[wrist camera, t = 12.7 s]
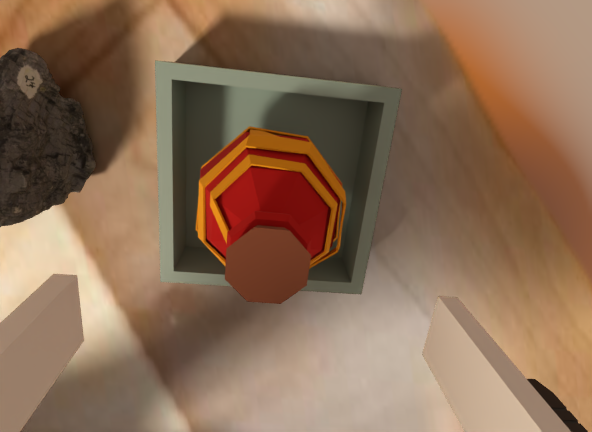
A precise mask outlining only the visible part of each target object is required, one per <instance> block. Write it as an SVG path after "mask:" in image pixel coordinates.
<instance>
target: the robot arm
mask: <svg viewBox="0 0 592 432" xmlns="http://www.w3.org/2000/svg"><path fill="white" fill-rule="evenodd" d="M83 341H84V336H83V327H82V318H81V308H80V299H79V290H78V280H77V275H63V274H53V275H52V276H51V277H50V278H49V279H48V280H47V281H45V282H44V283H43V284H42V285H41V286H40V287H39V288H38V289H37V290H36V291H35V292H34V293H32V294H31V295H30V296H29V297H28V298H27V299H26V300H25V301H24V302H23V303H22V304H20V305H19V306H18V307H17V308H16V309H15V310H14V311H13V312H12V313H11V314H10V315H9V316H7V317H6V318H5V319H4V320H3V321H2V322H1V323H0V432H20V431H21V430H22V428H23V427H24V426H25V424H26V423H27V421H28V420H29V418H30V417H31V416H32V414H33V413H34V411H35V410H36V408H37V407H38V405H39V404H40V403H41V401H42V400H43V398H44V397H45V395H46V394H47V393H48V391H49V390H50V388H51V387H52V385H53V384H54V383H55V381H56V380H57V378H58V377H59V375H60V374H61V373H62V371H63V370H64V368H65V367H66V365H67V364H68V363H69V361H70V360H71V358H72V357H73V355H74V354H75V353H76V351H77V350H78V348H79V347H80V345H81V344H82V343H83ZM422 355H423V357H424V359H425V361H426V362H427V364H428V366H429V368H430V370H431V371H432V373H433V375H434V377H435V379H436V381H437V382H438V384H439V386H440V388H441V390H442V392H443V393H444V395H445V397H446V399H447V401H448V402H449V404H450V406H451V408H452V410H453V412H454V413H455V415H456V417H457V419H458V421H459V423H460V424H461V426H462V428H463V430H464V432H588V431H587V430H586V429H585V428H584V427H583V426H582V425H581V424H579V423H578V420H577V419H576V418H575V417H574V416H573V415H572V413H571V412H570V411H567V409H566V407H565V406H564V405H563V403H562V402H561V401H560V400H559V399H558V398H557V397H556V396H555V394H554V393H553V392H551V391H550V390H549V389H547V388H546V387H545V386H543V385H542V384H541V383H539V382H538V381H537V380H535V379H526V378H525V377H524V375H523V374H522V373H521V372H520V371H519V370H518V368H517V367H516V366H515V365H514V364H513V362H512V361H511V360H510V359H509V358H508V357H507V355H506V354H505V353H504V352H503V351H502V349H501V348H500V347H499V346H498V345H497V344H496V342H495V341H494V340H493V339H492V338H491V337H490V335H489V334H488V333H487V332H486V331H485V329H484V328H483V327H482V326H481V325H480V324H479V322H478V321H477V320H476V319H475V318H474V316H473V315H472V314H471V313H470V312H469V311H468V309H467V308H466V307H465V306H464V305H463V303H462V302H461V301H460V300H459V299H458V298H457V297H445V296H438V298H437V302H436V306H435V309H434V313H433V317H432V320H431V324H430V328H429V331H428V335H427V339H426V342H425V346H424V349H423V353H422Z"/></svg>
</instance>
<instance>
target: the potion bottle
mask: <svg viewBox="0 0 592 432" xmlns="http://www.w3.org/2000/svg"><path fill="white" fill-rule="evenodd" d="M274 134H275V135H274ZM280 135H281V136H280ZM341 201H342V211H341V222H340V230H339V236H338V228H339V217H340V205H341ZM345 208H346V195H345V190H344V189H343V188H342V182H341V181H340V180H339V178H338V177H337V176H336V174H335V173H334V171H333V170H332V169H331V167H330V166H329V165H328V163H327V162H326V160H325V159H324V158H323V156H322V155H321V154H320V152H319V151H318V149H317V148H316V147H315V145H314V144H313V143H312V141H311V140H310V138H309V137H308V136H303V135H297V134H291V133H285V132H280V131H274V130H268V129H262V128H256V127H251V126H249V127H248V128H247V129H245V130H244V131H243V132H242V133H241V134H240V135H238V136H237V137H236V138H235V139H234V140H232V141H231V142H230V143H229V144H228V145H227V146H225V147H224V148H223V149H222V150H221V151H219V152H218V153H217V154H216V155H215V156H214V157H212V158H211V159H210V160H209V161H208V162H206V163H205V164H204V165H203V166H202V167H201V169H200V180H199V197H198V208H197V219H196V229H195V230H196V231H197V232H198V238H199V239H200V240H201V241H202V242H203V243H204V244H205V245H206V246H207V247H208V249H209V250H210V251H211V252H212V253H213V254H214V255H215V256H216V257H217V258H218V259H219V260H220V261H221V262H222V264H223V265H224V266H225V280H226V281H227V282H228V283H229V284H230V285H231V286H232V287H233V288H234V289H235V290H236V291H237V292H238V293H239V294H240V295H241V296H242V297H243V298H244V299H245V300H246V301H248V302H262V303H276V304H281V303H282V302H284V301H285V300H287V299H288V298H290V297H291V296H292V295H294V294H295V293H297V292H298V291H299V290H301V289H302V288H304V287H305V286H307V281H308V274H309V269H310V268H311V267H313V266H315V265H317V264H318V263H320V262H322V261H324V260H325V259H327V258H329V257H330V256H332V255H334V254H336V253H337V252H338V250H339V248H340V243H341V232H342V225H343V219H344V214H345ZM337 238H338V242H337V247H336V248H334V249H333V250H331V251H330V252H329V249H330V248H331V247H332V245H333V242H334V241H335V240H336V239H337ZM325 254H326V255H325ZM315 261H316V262H315Z"/></svg>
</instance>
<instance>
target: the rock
mask: <svg viewBox="0 0 592 432" xmlns="http://www.w3.org/2000/svg"><path fill="white" fill-rule="evenodd" d="M59 91H60V87H59V86H58V85H57V84H56V83H55V82H54V79H53V78H52V75H51V74H50V73H49V69H47V64H46V63H45V61H44V60H43V59H42V58H41V57H40V56H39V55H38V54H37V53H35V52H32V51H29V50H26V49H22V48H16V49H12V50H9V51H8V52H7V53H6V54H5V55H3V56H2V57H1V58H0V227H1V226H8V225H13V224H16V223H20V222H23V221H24V220H26V219H30V218H32V217H34V216H36V215H38V214H40V213H41V212H43V211H44V210H48V209H50V208H51V207H52V206H54V205H59V204H62V203H64V202H65V199H67V198H68V194H69V193H71V192H80V191H81V190H82V188H83V186H84V184H85V182H86V180H87V179H88V178H89V176H90V174H91V173H92V172H93V170H94V169H95V167H96V165H95V160H94V157H93V154H92V150H93V144H92V141H91V139H90V138H89V136H88V134H87V132H86V126H85V121H84V119H83V118H82V116H83V115H84V114H83V111H82V107H81V105H80V103H79V102H77V101H75V100H74V99H71V98H63V97H62V96H61V95H60V94H59Z"/></svg>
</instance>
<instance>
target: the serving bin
mask: <svg viewBox="0 0 592 432" xmlns="http://www.w3.org/2000/svg"><path fill="white" fill-rule="evenodd" d="M155 79H156V119H157V160H158V200H159V240H160V281H161V282H172V283H188V284H204V285H220V286H231V285H230V284H229V283H228V282H227V281H226V280H225V266H224V265H223V264H222V262H221V261H220V260H219V259H218V258H217V257H216V256H215V255H214V254H213V253H212V252H211V251H210V250H209V249H208V247H207V246H206V245H205V244H204V243H203V242H202V241H201V240H200V239H199V238H198V232H197V231H196V230H195V229H196V219H197V208H198V197H199V180H200V169H201V167H202V166H203V165H204V164H205V163H206V162H208V161H209V160H210V159H211V158H212V157H214V156H215V155H216V154H217V153H218V152H219V151H221V150H222V149H223V148H224V147H225V146H227V145H228V144H229V143H230V142H231V141H232V140H234V139H235V138H236V137H237V136H238V135H240V134H241V133H242V132H243V131H244V130H245V129H247V128H248V127H249V126H251V127H256V128H262V129H268V130H274V131H280V132H285V133H291V134H297V135H303V136H308V137H309V138H310V140H311V141H312V143H313V144H314V145H315V147H316V148H317V149H318V151H319V152H320V154H321V155H322V156H323V158H324V159H325V160H326V162H327V163H328V165H329V166H330V167H331V169H332V170H333V171H334V173H335V174H336V176H337V177H338V178H339V180H340V181H341V182H342V188H343V189H344V190H345V195H346V208H345V214H344V219H343V225H342V232H341V243H340V248H339V250H338V252H337V253H336V254H334V255H332V256H330V257H329V258H327V259H325V260H324V261H322V262H320V263H318V264H317V265H315V266H313V267H311V268H310V269H309V274H308V281H307V286H305V287H304V288H302V289H301V290H300V291H316V292H332V293H348V294H361V293H362V288H363V283H364V278H365V273H366V268H367V263H368V258H369V253H370V248H371V243H372V238H373V233H374V228H375V223H376V218H377V213H378V208H379V203H380V197H381V192H382V187H383V182H384V177H385V172H386V167H387V162H388V157H389V152H390V147H391V142H392V137H393V132H394V127H395V122H396V117H397V112H398V107H399V101H400V96H401V91H402V89H399V88H393V87H386V86H378V85H370V84H361V83H352V82H343V81H335V80H326V79H317V78H308V77H300V76H291V75H282V74H273V73H265V72H256V71H247V70H239V69H230V68H221V67H212V66H204V65H195V64H186V63H177V62H166V61H155ZM274 135H275V134H274ZM280 136H281V135H280ZM341 211H342V201H341V205H340V217H339V228H338V236H339V230H340V222H341ZM337 242H338V238H337V239H336V240H335V241H334V242H333V245H332V247H331V248H330V249H329V252H330V251H331V250H333V249H334V248H336V247H337ZM325 255H326V254H325ZM315 262H316V261H315Z"/></svg>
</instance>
